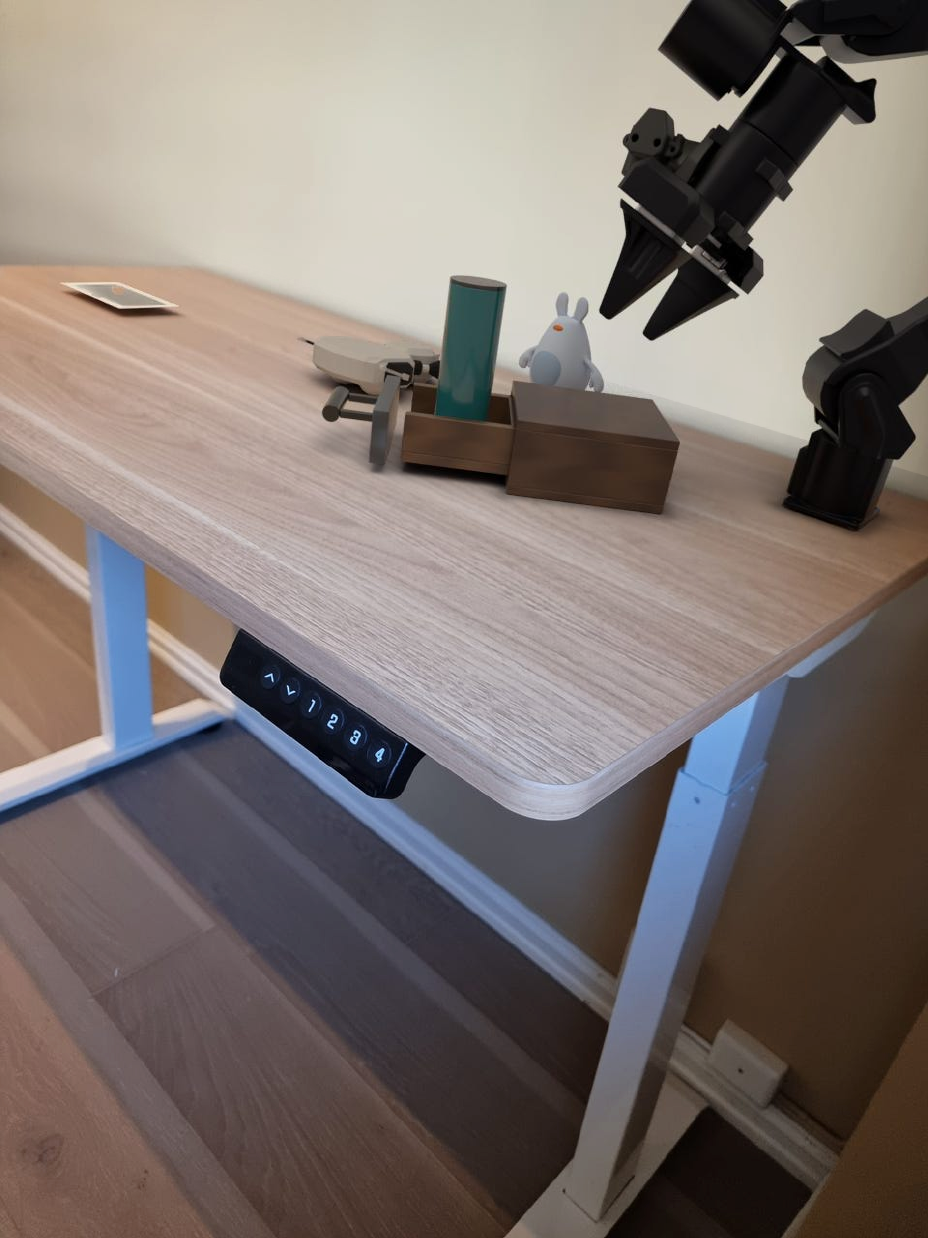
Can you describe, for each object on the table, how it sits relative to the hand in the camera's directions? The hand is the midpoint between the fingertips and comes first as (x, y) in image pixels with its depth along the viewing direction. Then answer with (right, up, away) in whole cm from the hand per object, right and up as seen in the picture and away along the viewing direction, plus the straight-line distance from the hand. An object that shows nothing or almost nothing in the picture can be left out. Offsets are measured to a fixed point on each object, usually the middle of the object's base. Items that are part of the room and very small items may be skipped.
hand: (626, 327), depth 70 cm
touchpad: (-56, +16, +41) cm, 71 cm away
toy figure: (-4, -3, +20) cm, 21 cm away
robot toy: (-21, +1, +22) cm, 31 cm away
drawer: (-17, -9, +3) cm, 19 cm away
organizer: (-3, -11, +4) cm, 13 cm away
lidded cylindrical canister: (-13, -8, +3) cm, 16 cm away
